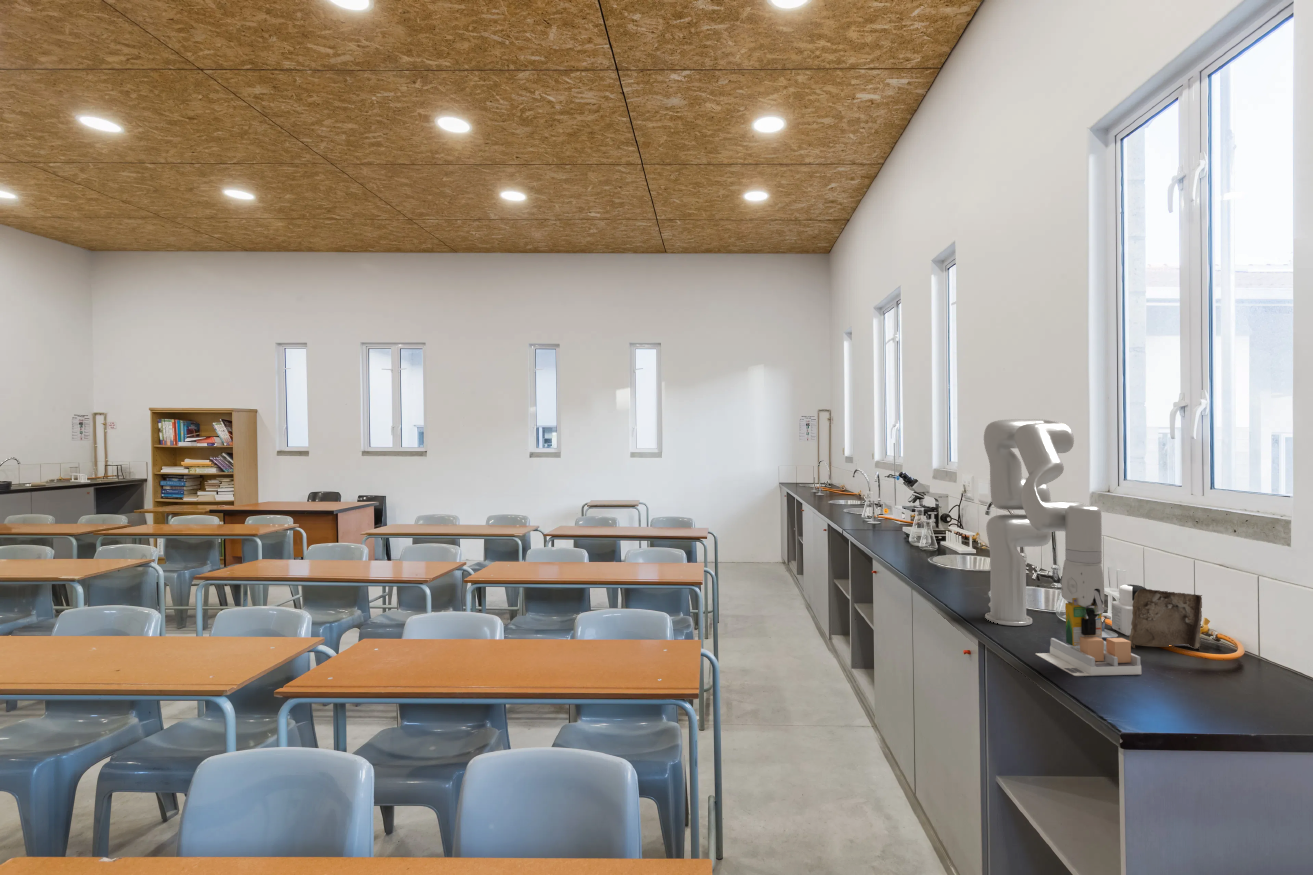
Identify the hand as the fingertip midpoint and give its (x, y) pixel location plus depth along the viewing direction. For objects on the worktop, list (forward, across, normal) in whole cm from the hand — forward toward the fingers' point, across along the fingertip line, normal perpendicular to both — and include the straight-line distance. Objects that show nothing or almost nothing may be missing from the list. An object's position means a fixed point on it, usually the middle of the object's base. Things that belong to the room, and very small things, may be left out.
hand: (1083, 631), depth 171 cm
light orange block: (+6, +5, +5) cm, 9 cm away
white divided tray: (+8, 0, +1) cm, 8 cm away
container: (+8, -25, +31) cm, 41 cm away
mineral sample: (+8, -11, +29) cm, 32 cm away
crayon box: (+3, 0, 0) cm, 3 cm away
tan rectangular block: (+6, +3, 0) cm, 6 cm away
